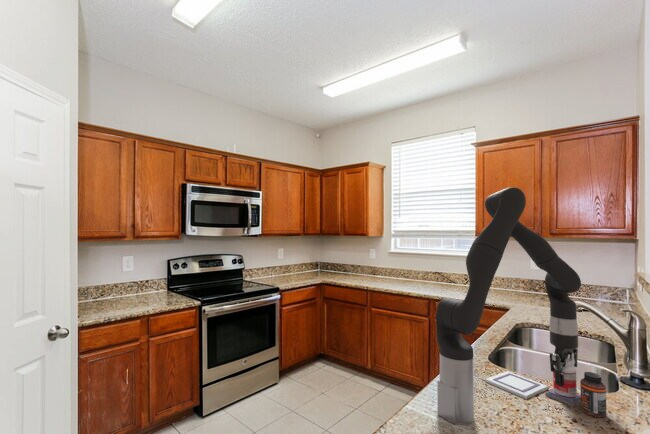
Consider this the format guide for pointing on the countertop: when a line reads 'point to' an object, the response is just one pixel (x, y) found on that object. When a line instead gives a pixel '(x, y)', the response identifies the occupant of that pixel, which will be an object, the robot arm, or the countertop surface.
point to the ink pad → (564, 398)
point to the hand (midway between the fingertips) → (564, 383)
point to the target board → (516, 384)
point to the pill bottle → (567, 381)
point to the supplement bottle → (593, 395)
